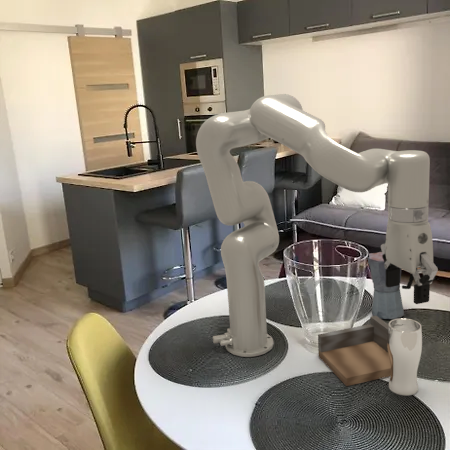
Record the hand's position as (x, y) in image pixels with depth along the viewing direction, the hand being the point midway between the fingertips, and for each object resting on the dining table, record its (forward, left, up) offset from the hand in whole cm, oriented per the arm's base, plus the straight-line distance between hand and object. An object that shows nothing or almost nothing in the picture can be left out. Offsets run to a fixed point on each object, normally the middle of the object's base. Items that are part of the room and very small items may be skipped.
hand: (406, 293), depth 105 cm
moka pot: (+18, +33, -22) cm, 44 cm away
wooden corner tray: (-3, +12, -22) cm, 25 cm away
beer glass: (0, 0, -22) cm, 22 cm away
